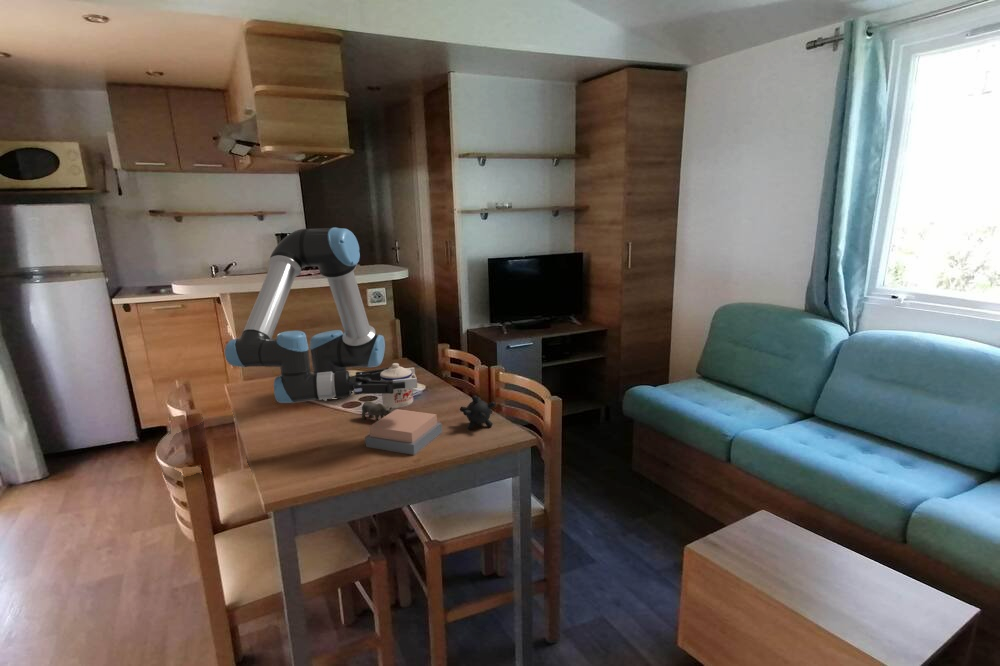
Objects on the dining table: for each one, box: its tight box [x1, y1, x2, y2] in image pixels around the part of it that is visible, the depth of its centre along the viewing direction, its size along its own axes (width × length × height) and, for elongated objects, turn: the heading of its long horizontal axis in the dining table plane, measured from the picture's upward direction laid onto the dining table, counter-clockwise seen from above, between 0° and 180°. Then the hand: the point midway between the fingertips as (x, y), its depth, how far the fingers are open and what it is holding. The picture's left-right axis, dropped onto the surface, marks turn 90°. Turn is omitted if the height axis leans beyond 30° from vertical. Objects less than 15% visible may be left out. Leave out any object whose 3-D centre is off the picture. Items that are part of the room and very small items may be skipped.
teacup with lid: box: [380, 362, 417, 409], centre depth 151 cm, size 12×9×12 cm
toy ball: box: [459, 394, 496, 431], centre depth 162 cm, size 11×11×12 cm
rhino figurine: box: [361, 400, 393, 423], centre depth 169 cm, size 4×14×6 cm, turn 61°
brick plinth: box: [364, 408, 443, 456], centre depth 154 cm, size 16×16×6 cm
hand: (415, 377), depth 151 cm, fingers closed on teacup with lid, 10 cm apart
